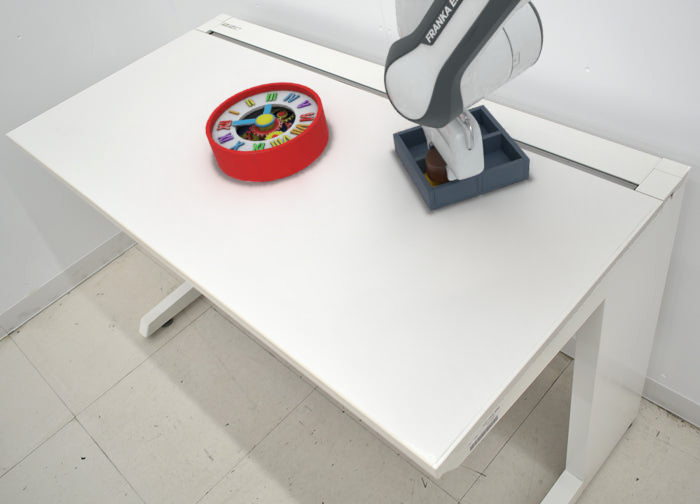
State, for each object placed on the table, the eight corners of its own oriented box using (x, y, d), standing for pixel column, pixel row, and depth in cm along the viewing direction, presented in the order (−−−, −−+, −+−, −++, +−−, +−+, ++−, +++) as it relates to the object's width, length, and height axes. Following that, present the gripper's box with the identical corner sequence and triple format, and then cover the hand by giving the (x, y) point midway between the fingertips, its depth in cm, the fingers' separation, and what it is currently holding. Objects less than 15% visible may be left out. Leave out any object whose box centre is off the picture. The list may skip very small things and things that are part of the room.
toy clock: (315, 147, 93) (192, 159, 96) (323, 176, 97) (205, 187, 100) (327, 76, 106) (219, 88, 109) (333, 104, 110) (229, 115, 114)
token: (453, 157, 91) (452, 141, 89) (467, 177, 87) (466, 160, 85) (421, 167, 90) (420, 151, 88) (434, 187, 87) (433, 171, 85)
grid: (483, 123, 99) (483, 104, 97) (528, 178, 89) (530, 159, 86) (395, 151, 98) (392, 133, 96) (430, 211, 88) (428, 192, 85)
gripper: (497, 114, 71) (496, 201, 81) (431, 38, 85) (437, 120, 95) (446, 130, 70) (451, 215, 80) (389, 51, 84) (399, 132, 94)
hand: (443, 163), depth 88 cm, fingers closed on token, 5 cm apart
